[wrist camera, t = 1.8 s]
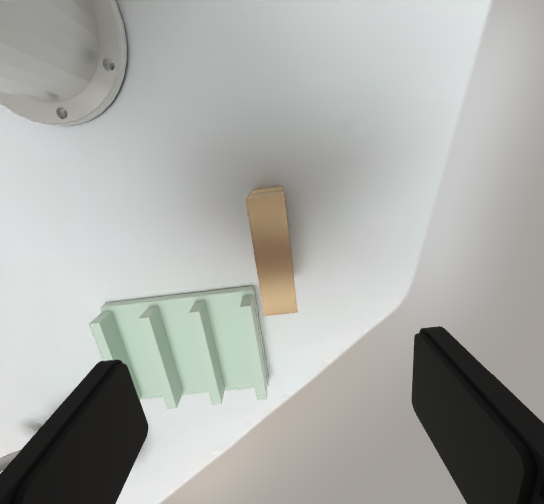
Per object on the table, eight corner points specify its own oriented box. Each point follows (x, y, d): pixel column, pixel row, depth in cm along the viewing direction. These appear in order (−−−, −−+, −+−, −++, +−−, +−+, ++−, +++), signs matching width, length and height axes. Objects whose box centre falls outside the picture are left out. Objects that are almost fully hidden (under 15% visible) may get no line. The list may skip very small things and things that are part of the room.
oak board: (253, 189, 25) (245, 199, 18) (281, 185, 25) (284, 194, 18) (266, 279, 28) (264, 316, 21) (291, 276, 28) (297, 312, 21)
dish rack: (106, 302, 28) (85, 319, 25) (253, 285, 28) (250, 300, 25) (138, 392, 32) (123, 416, 29) (268, 379, 31) (268, 402, 28)
